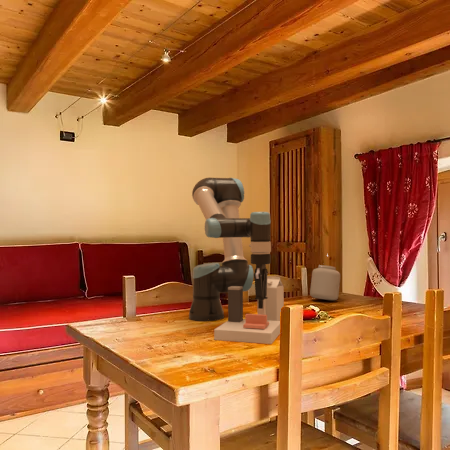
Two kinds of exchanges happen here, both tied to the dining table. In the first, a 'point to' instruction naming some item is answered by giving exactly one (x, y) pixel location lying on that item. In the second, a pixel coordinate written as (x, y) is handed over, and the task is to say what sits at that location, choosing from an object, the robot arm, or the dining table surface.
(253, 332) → the socket plate
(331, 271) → the jar
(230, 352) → the dining table surface
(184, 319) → the dining table surface
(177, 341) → the dining table surface
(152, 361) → the dining table surface
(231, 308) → the plug
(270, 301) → the milk carton
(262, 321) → the salmon red stepped block
